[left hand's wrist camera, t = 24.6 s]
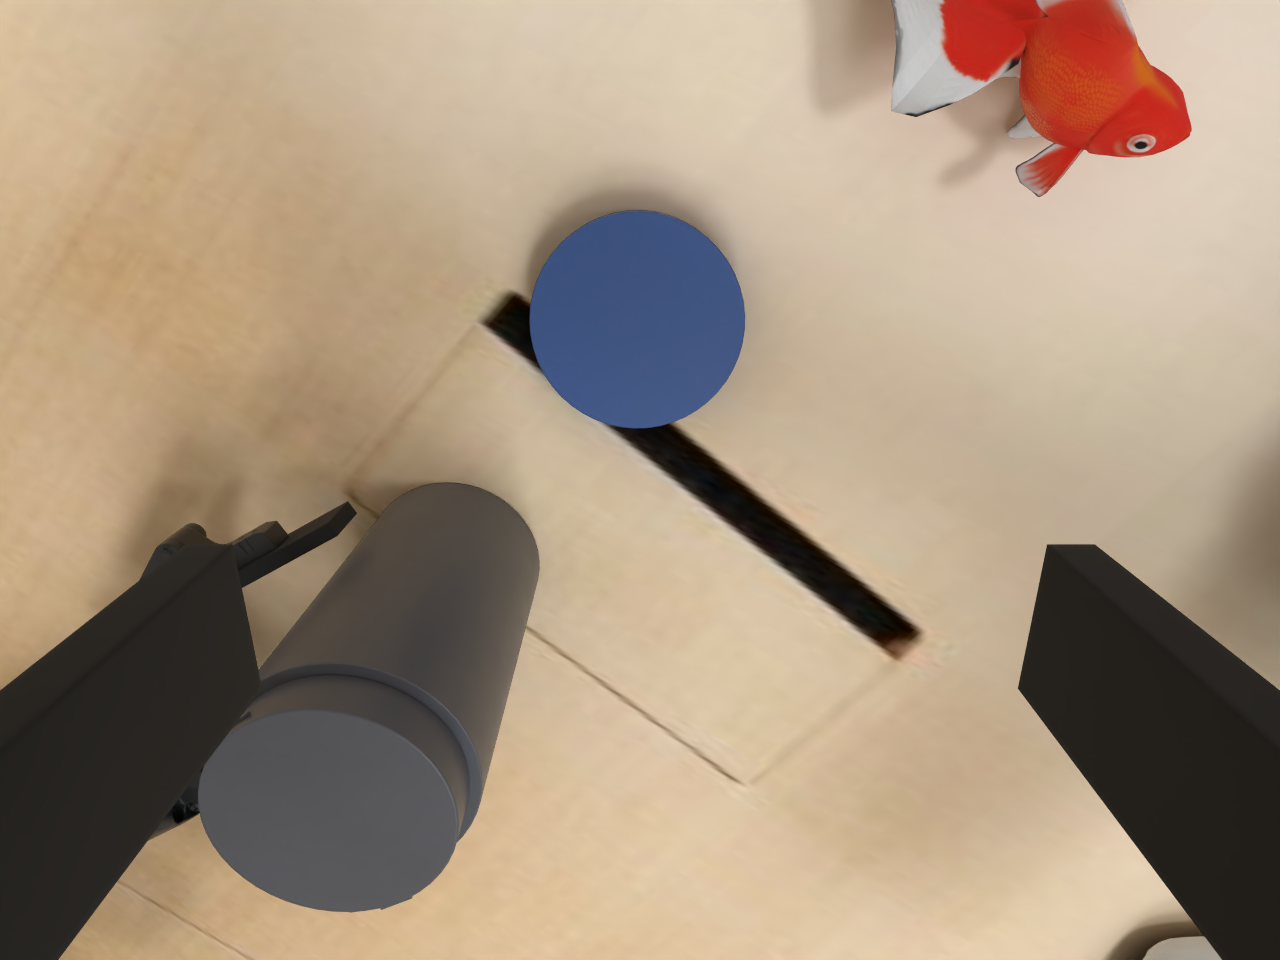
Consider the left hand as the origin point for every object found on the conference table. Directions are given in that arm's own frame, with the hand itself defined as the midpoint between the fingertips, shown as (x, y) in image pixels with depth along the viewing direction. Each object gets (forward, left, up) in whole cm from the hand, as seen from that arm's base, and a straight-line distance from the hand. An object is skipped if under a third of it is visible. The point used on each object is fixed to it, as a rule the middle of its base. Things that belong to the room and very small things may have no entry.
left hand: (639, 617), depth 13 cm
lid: (0, 0, -28) cm, 29 cm away
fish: (-18, -8, -30) cm, 36 cm away
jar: (+14, +12, -30) cm, 35 cm away
